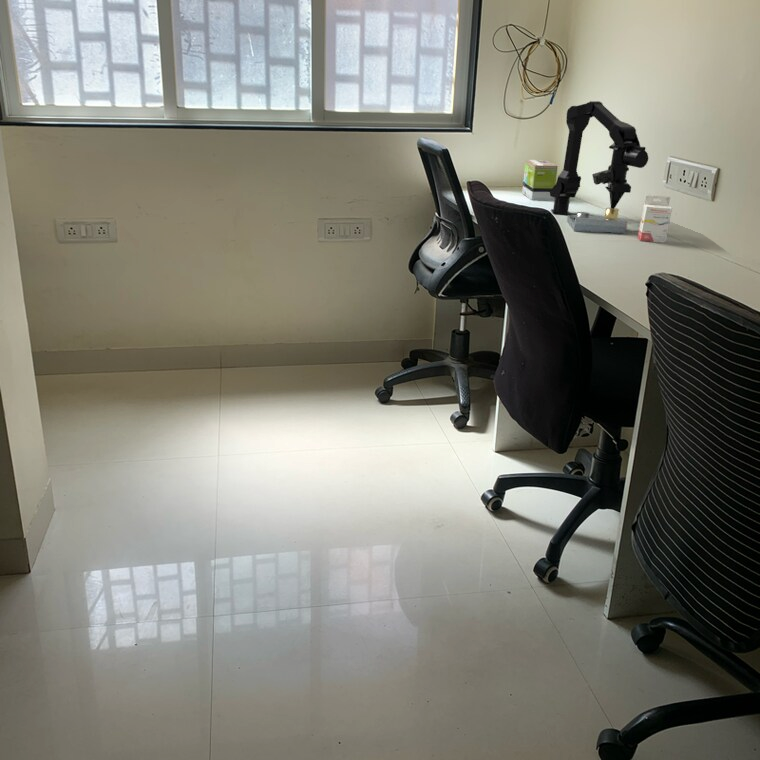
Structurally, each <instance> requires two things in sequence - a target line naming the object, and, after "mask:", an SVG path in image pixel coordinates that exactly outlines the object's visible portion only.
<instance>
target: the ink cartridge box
mask: <svg viewBox="0 0 760 760" xmlns="http://www.w3.org/2000/svg"><path fill="white" fill-rule="evenodd" d="M657 199H658V200H657ZM659 200H660V201H659ZM670 200H671V196H667V195H666V196H665V195H652V194H650V195H649V194H646V195H645V200H644V204H643V207H642V212H641V218H640V222H639V228H638V232H637V233H638V235H637V239H639V241H640V242H650V243H651V242H653V243H666V242H667V236H668V232H669V227H670V221H671V216H672V212H673V210H672V209H673V208H672V207H671V206H670Z"/></svg>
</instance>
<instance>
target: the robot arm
mask: <svg viewBox="0 0 760 760" xmlns="http://www.w3.org/2000/svg"><path fill="white" fill-rule="evenodd" d="M593 117H594V118H595V119H596V120H597V121H598V122H599V123H600V124H601V125H602V126H603V127H604V128H605V129H606V130H607V131H608V133H609V138H610V139H611V140H612V144H611V145H609V147H608V148H609V149H610V150H612V154H611V155H612V156H611V161H610V162H611V163H610V164H609V166H607V168H608V169H606V170H601V171H598V172H595V173H593V174H592V175H591V176H592V180H593V184H595V185H600V184H603V185H606V184H607V186H605V189H606V190H607V191H608V192H609V204H610V208H611V209H614V208H617V207H616V206H617V205H618V203H619V202H620V201H621V199H622V197H624V195H625V193H627V194H628V193H629V194H630V193H631V191H632V186H631V185H630V184H629V183H628V182H627V181H628V180H627V173H628V172H629V169H630V168H629V167H632V168H633V167H634V168H639V169H643V168H644V167H645V166H647V164H648V162H649V154H648V151H646V147H645V146H641V143H640V141H639V137H638V135H637V129H636V127H634V126H633V125H631V124H629V123H627V122H625V121H621V120H620V119H619V118H618V117H617V116H616V115H614V114H613V112H611V111H610V110H609V109H608V108H607V107H605V105H603V102H602V101H599V100H598V101H596V100H595V101H589V102H586V103H582V104H580V105H579V104H578V105H571V106H570V107H569V108H568V109H567V110H566V126H567V128H568V135H567V136H568V137H567V143H566V149H565V150H566V151H565V156H564V162H563V168H562V170H561V172H560V173H559V175H557V178H556V184H555V186H554V187H553V188H552V189H551V190H550V196H551V197H554V200H553V209H550V211H551V213H552V214H554V213H555V214H554V215H571V212H570V210H569V208H570V201H571V198H575V197H576V195H577V193H578V192H579V189H580V188H581V180H582V177H581V176H579V174H578V172H577V171H578V165H579V164H578V163H579V158H580V152H581V145H582V140H583V133H584V131H585V129H586V128H587V127H588V125H589V123H590V121H591V120H590V119H592V118H593Z"/></svg>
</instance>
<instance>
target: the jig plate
mask: <svg viewBox="0 0 760 760" xmlns="http://www.w3.org/2000/svg"><path fill="white" fill-rule="evenodd" d="M566 217H567V218H566V223H567V224H568V225H569V226H570V228H571V229H572V230H573V232H581V231H582V232H585V233H600V232H611V233H610V234H619V233H627V228H628V220H626V219H625V220H624V219H623V220H622V219H620V218H618V217H617V220H608V219H604V218H605V216H597V215H595V216H594V215H589V218H577V214H567V216H566ZM589 231H590V232H589Z"/></svg>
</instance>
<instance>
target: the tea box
mask: <svg viewBox="0 0 760 760" xmlns="http://www.w3.org/2000/svg"><path fill="white" fill-rule="evenodd" d="M558 167H559V166H558V165H557V164H555V163H553V162H551V161H549V160H547V159H525V163H524V171H523V173H524V174H523V182H522V192H521V193H522V194H523V195H524V196H526V197H527V198H528V199H529V200H531V201H542V202H543V201H545V202H547V201H549V202H550V201H553V202H554V200H555V197H551V196H550V190H551V189H552V188H553V187H554V186H555V185H556V183H557V176H558V175H557V174H558Z"/></svg>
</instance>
